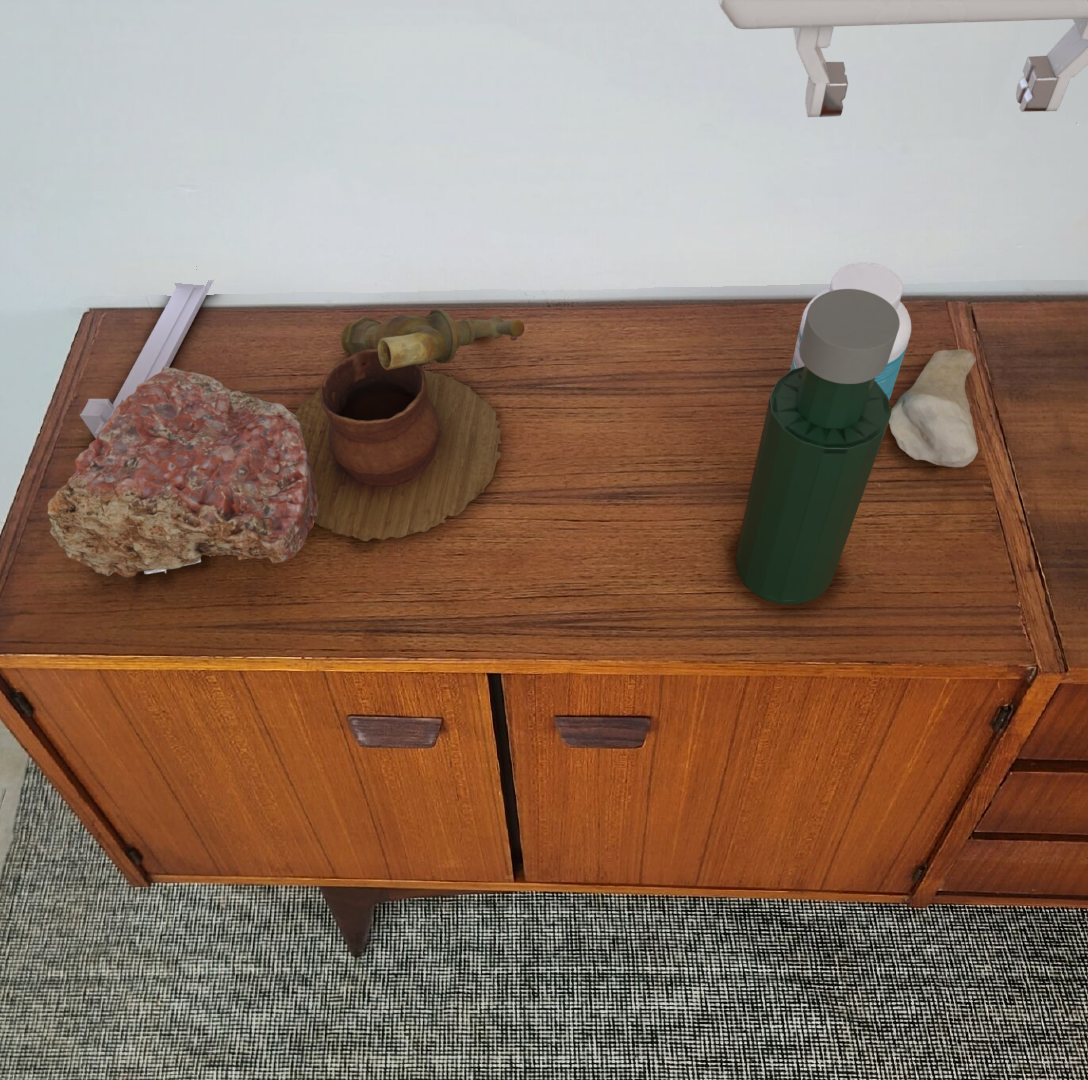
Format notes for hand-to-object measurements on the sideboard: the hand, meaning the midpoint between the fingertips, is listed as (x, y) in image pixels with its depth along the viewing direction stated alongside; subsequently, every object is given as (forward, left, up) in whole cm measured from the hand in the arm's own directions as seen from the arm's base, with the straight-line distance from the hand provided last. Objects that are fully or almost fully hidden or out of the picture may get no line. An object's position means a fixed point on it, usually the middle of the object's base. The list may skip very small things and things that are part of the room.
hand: (927, 107), depth 49 cm
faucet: (+34, -12, -27) cm, 45 cm away
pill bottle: (-3, -12, -34) cm, 36 cm away
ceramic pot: (+31, -8, -33) cm, 46 cm away
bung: (+1, +2, -15) cm, 15 cm away
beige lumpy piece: (-12, -13, -34) cm, 38 cm away
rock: (+42, -9, -29) cm, 51 cm away
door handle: (+54, -18, -32) cm, 65 cm away
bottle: (+1, +2, -33) cm, 33 cm away
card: (+44, +2, -34) cm, 55 cm away
